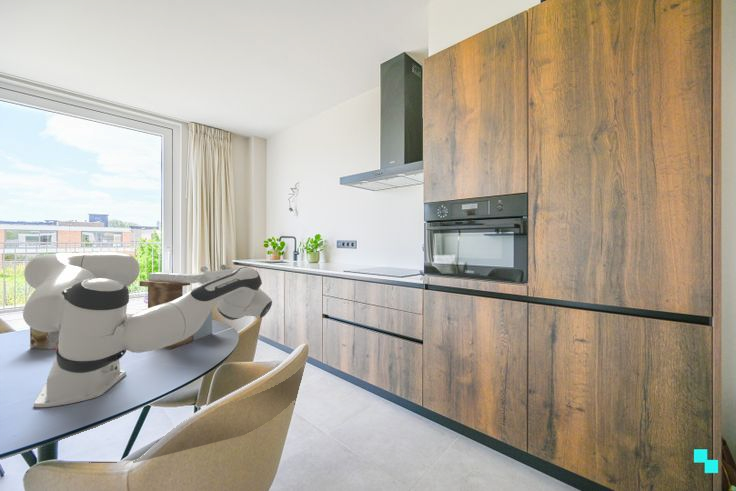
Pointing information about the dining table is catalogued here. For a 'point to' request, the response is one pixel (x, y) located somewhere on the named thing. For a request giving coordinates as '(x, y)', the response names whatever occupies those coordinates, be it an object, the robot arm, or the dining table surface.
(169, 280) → the aluminium bar
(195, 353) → the dining table surface
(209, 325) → the block
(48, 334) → the coffee box
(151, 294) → the walnut stand
